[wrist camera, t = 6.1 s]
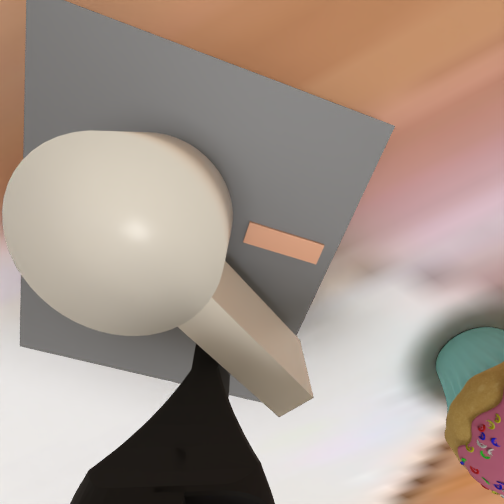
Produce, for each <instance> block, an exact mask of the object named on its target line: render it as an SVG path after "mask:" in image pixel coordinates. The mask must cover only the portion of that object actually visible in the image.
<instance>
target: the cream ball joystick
mask: <svg viewBox="0 0 504 504" xmlns="http://www.w3.org/2000/svg"><path fill="white" fill-rule="evenodd" d="M2 222H3V230H4V236H5V240H6V243H7V246H8V249H9V252H10V255H11V257H12V259H13V261H14V263H15V265H16V267H17V268H18V270H19V272H20V273H21V275H22V277H23V278H24V279H25V281H26V282H27V283H28V284H29V286H30V287H31V288H32V289H33V290H34V291H35V292H36V293H37V295H38V296H39V297H40V298H41V299H43V300H44V301H45V302H46V303H47V304H48V305H50V306H51V307H52V308H53V309H55V310H56V311H58V312H59V313H61V314H62V315H64V316H65V317H67V318H69V319H71V320H72V321H74V322H76V323H79V324H81V325H83V326H85V327H88V328H91V329H94V330H97V331H100V332H104V333H109V334H114V335H122V336H144V335H152V334H157V333H162V332H165V331H168V330H171V329H173V328H175V327H178V328H179V329H181V330H182V331H183V332H184V333H185V334H186V335H187V336H188V337H190V338H191V339H192V340H193V341H194V342H195V343H196V344H197V345H199V346H200V347H201V348H202V349H203V350H204V351H205V352H206V353H208V354H209V355H210V356H211V357H212V358H213V359H214V360H215V361H217V362H218V363H219V364H220V365H221V366H222V367H223V368H224V369H226V370H227V371H228V372H229V373H230V374H231V375H232V376H233V377H234V378H236V379H237V380H238V381H239V382H240V383H241V384H242V385H243V386H245V387H246V388H247V389H248V390H249V391H250V392H251V393H252V394H254V395H255V396H256V397H257V398H258V399H259V400H260V401H261V402H263V403H264V404H265V405H266V406H267V407H268V408H269V409H270V410H272V411H273V412H274V413H275V414H276V415H277V416H278V417H280V416H282V415H284V414H286V413H287V412H289V411H291V410H293V409H295V408H296V407H298V406H300V405H302V404H303V403H305V402H307V401H309V400H310V399H312V398H314V397H313V393H312V389H311V385H310V380H309V376H308V372H307V368H306V364H305V360H304V355H303V351H302V347H301V343H300V340H299V339H298V337H297V336H296V335H295V334H294V333H293V332H292V331H291V330H290V329H289V328H288V327H287V326H286V325H285V324H284V323H283V322H282V320H281V319H280V318H279V317H278V316H277V315H276V314H275V313H274V312H273V311H272V310H271V309H270V308H269V307H268V306H267V305H266V304H265V302H264V301H263V300H262V299H261V298H260V297H259V296H258V295H257V294H256V293H255V292H254V291H253V290H252V289H251V288H250V287H249V286H248V284H247V283H246V282H245V281H244V280H243V279H242V278H241V277H240V276H239V275H238V274H237V273H236V272H235V271H234V270H233V269H232V267H231V266H230V265H229V264H228V263H227V262H226V261H225V258H226V253H227V249H228V244H229V239H230V234H231V229H232V222H233V210H232V202H231V198H230V194H229V191H228V189H227V186H226V184H225V181H224V180H223V178H222V176H221V174H220V173H219V171H218V170H217V169H216V167H215V166H214V165H213V163H212V162H211V161H210V160H209V159H208V158H207V157H206V156H205V155H204V154H202V153H201V152H200V151H199V150H198V149H196V148H195V147H193V146H192V145H190V144H188V143H187V142H185V141H182V140H180V139H178V138H176V137H172V136H169V135H166V134H160V133H154V132H124V131H93V130H88V131H79V132H72V133H68V134H65V135H61V136H58V137H55V138H53V139H51V140H49V141H46V142H44V143H43V144H41V145H40V146H38V147H37V148H35V149H34V150H32V151H31V152H30V153H29V154H28V155H27V156H26V157H25V158H24V159H23V160H22V161H21V162H20V164H19V165H18V167H17V168H16V169H15V171H14V172H13V174H12V176H11V178H10V180H9V182H8V185H7V188H6V192H5V195H4V200H3V208H2Z"/></svg>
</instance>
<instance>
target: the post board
mask: <svg viewBox="0 0 504 504" xmlns="http://www.w3.org/2000/svg"><path fill="white" fill-rule="evenodd" d="M394 127H395V126H393V125H391V124H388V123H386V122H383V121H380V120H378V119H375V118H372V117H370V116H367V115H364V114H362V113H359V112H357V111H354V110H351V109H349V108H346V107H343V106H341V105H338V104H336V103H333V102H330V101H328V100H325V99H322V98H320V97H317V96H314V95H312V94H309V93H307V92H304V91H301V90H299V89H296V88H293V87H291V86H288V85H285V84H283V83H280V82H278V81H275V80H272V79H270V78H267V77H264V76H262V75H259V74H257V73H254V72H251V71H249V70H246V69H243V68H241V67H238V66H235V65H233V64H230V63H228V62H225V61H222V60H220V59H217V58H214V57H212V56H209V55H207V54H204V53H201V52H199V51H196V50H193V49H191V48H188V47H185V46H183V45H180V44H178V43H175V42H172V41H170V40H167V39H164V38H162V37H159V36H156V35H154V34H151V33H149V32H146V31H143V30H141V29H138V28H135V27H133V26H130V25H128V24H125V23H122V22H120V21H117V20H114V19H112V18H109V17H106V16H104V15H101V14H99V13H96V12H93V11H91V10H88V9H85V8H83V7H80V6H77V5H75V4H72V3H70V2H67V1H64V0H26V50H25V102H24V154H23V159H24V158H25V157H26V156H27V155H28V154H29V153H30V152H31V151H32V150H34V149H35V148H37V147H38V146H40V145H41V144H43V143H44V142H46V141H49V140H51V139H53V138H55V137H58V136H61V135H65V134H68V133H72V132H79V131H88V130H93V131H124V132H154V133H160V134H166V135H169V136H172V137H176V138H178V139H180V140H182V141H185V142H187V143H188V144H190V145H192V146H193V147H195V148H196V149H198V150H199V151H200V152H201V153H202V154H204V155H205V156H206V157H207V158H208V159H209V160H210V161H211V162H212V163H213V165H214V166H215V167H216V169H217V170H218V171H219V173H220V174H221V176H222V178H223V180H224V181H225V184H226V186H227V189H228V191H229V194H230V198H231V202H232V210H233V222H232V229H231V234H230V239H229V244H228V249H227V253H226V258H225V261H226V262H227V263H228V264H229V265H230V266H231V267H232V269H233V270H234V271H235V272H236V273H237V274H238V275H239V276H240V277H241V278H242V279H243V280H244V281H245V282H246V283H247V284H248V286H249V287H250V288H251V289H252V290H253V291H254V292H255V293H256V294H257V295H258V296H259V297H260V298H261V299H262V300H263V301H264V302H265V304H266V305H267V306H268V307H269V308H270V309H271V310H272V311H273V312H274V313H275V314H276V315H277V316H278V317H279V318H280V319H281V320H282V322H283V323H284V324H285V325H286V326H287V327H288V328H289V329H290V330H291V331H292V332H293V333H294V334H295V335H297V333H298V331H299V329H300V327H301V324H302V322H303V320H304V318H305V316H306V314H307V312H308V310H309V307H310V305H311V303H312V301H313V299H314V297H315V295H316V293H317V290H318V288H319V286H320V284H321V282H322V280H323V278H324V276H325V274H326V271H327V269H328V267H329V265H330V263H331V261H332V259H333V257H334V254H335V252H336V250H337V248H338V246H339V244H340V242H341V240H342V237H343V235H344V233H345V231H346V229H347V227H348V225H349V223H350V220H351V218H352V216H353V214H354V212H355V210H356V208H357V206H358V204H359V201H360V199H361V197H362V195H363V193H364V191H365V189H366V187H367V184H368V182H369V180H370V178H371V176H372V174H373V172H374V170H375V167H376V165H377V163H378V161H379V159H380V157H381V155H382V153H383V150H384V148H385V146H386V144H387V142H388V140H389V138H390V136H391V134H392V131H393V129H394ZM20 346H22V347H26V348H30V349H34V350H39V351H43V352H47V353H52V354H56V355H60V356H65V357H69V358H73V359H77V360H82V361H86V362H90V363H95V364H99V365H103V366H107V367H112V368H116V369H120V370H125V371H129V372H133V373H138V374H142V375H146V376H150V377H155V378H159V379H163V380H168V381H172V382H176V383H182V381H183V380H184V379H185V377H186V376H187V375H188V373H189V372H190V370H191V369H192V363H193V357H194V351H195V346H196V343H195V342H194V341H193V340H192V339H191V338H190V337H188V336H187V335H186V334H185V333H184V332H183V331H182V330H181V329H179V328H178V327H175V328H173V329H171V330H168V331H165V332H162V333H157V334H152V335H144V336H122V335H114V334H109V333H104V332H100V331H97V330H94V329H91V328H88V327H85V326H83V325H81V324H79V323H76V322H74V321H72V320H71V319H69V318H67V317H65V316H64V315H62V314H61V313H59V312H58V311H56V310H55V309H53V308H52V307H51V306H50V305H48V304H47V303H46V302H45V301H44V300H43V299H41V298H40V297H39V296H38V295H37V293H36V292H35V291H34V290H33V289H32V288H31V287H30V286H29V284H28V283H27V282H26V281H25V279H24V278H23V277H22V275H21V310H20ZM229 395H232V396H236V397H241V398H245V399H249V400H254V401H258V402H261V401H260V400H259V399H258V398H257V397H256V396H255V395H254V394H252V393H251V392H250V391H249V390H248V389H247V388H246V387H245V386H243V385H242V384H241V383H240V382H239V381H238V380H237V379H236V378H234V377H233V376H232V375H231V374H230V385H229ZM262 403H263V402H262Z"/></svg>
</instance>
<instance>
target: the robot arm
mask: <svg viewBox="0 0 504 504" xmlns="http://www.w3.org/2000/svg"><path fill="white" fill-rule="evenodd" d="M229 385H230V373H229V372H228V371H227V370H226V369H224V368H223V367H222V366H221V365H220V364H219V363H218V362H217V361H215V360H214V359H213V358H212V357H211V356H210V355H209V354H208V353H206V352H205V351H204V350H203V349H202V348H201V347H200V346H199V345H197V344H196V346H195V351H194V357H193V363H192V369H191V370H190V372H189V373H188V375H187V376H186V377H185V379H184V380H183V381H182V383H181V384H180V386H179V387H178V388H177V389H176V391H175V392H174V393H173V394H172V395H171V397H170V398H169V399H168V400H167V401H166V402H165V404H164V405H163V406H162V407H161V408H160V409H159V410H158V411H157V412H156V413H155V414H154V415H153V416H152V417H151V418H150V419H149V420H148V421H147V422H146V423H145V424H144V425H143V426H142V427H141V428H140V429H139V430H138V431H137V432H135V433H134V434H133V435H132V436H131V437H130V438H129V439H128V440H127V441H125V442H124V443H123V444H122V445H121V446H120V447H118V448H117V449H116V450H115V451H113V452H112V453H111V454H110V455H108V456H107V457H106V458H104V459H103V460H102V461H100V462H99V463H98V464H97V465H95V466H94V467H93V468H91V469H90V470H89V471H88V472H87V474H86V476H85V478H84V479H83V481H82V483H81V484H80V486H79V488H78V489H77V491H76V493H75V495H74V497H73V499H72V501H71V503H70V504H275V503H274V499H273V496H272V493H271V490H270V487H269V484H268V481H267V479H266V476H265V474H264V471H263V468H262V465H261V463H260V461H259V459H258V458H257V456H256V454H255V453H254V451H253V449H252V448H251V446H250V444H249V442H248V440H247V439H246V437H245V435H244V433H243V431H242V429H241V427H240V425H239V423H238V421H237V418H236V416H235V414H234V412H233V410H232V407H231V405H230V402H229V399H228V396H229Z"/></svg>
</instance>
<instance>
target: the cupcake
mask: <svg viewBox="0 0 504 504" xmlns="http://www.w3.org/2000/svg"><path fill="white" fill-rule="evenodd" d="M436 371H437V374H438V377H439V379H440V382H441V384H442V387H443V390H444V393H445V397H446V401H447V407H448V411H447V418H446V430H445V439H446V441H447V443H448V444H449V446H450V447H451V449H452V450H453V452H454V453H455V455H456V457H457V458H458V460H459V461H460V463H461V464H462V465H463V466H464V467H465V468H466V469H467V470H468V471H469V473H470V474H471V476H472V477H473V478H474V479H475V480H476V481H478V482H479V483H480V484H481V485H482V486H483V487H484V488H486V489H488V490H489V489H490V490H492V493H494V494H500V495H501V497H503V498H504V330H501V329H498V328H493V327H481V328H475V329H471V330H468V331H465V332H463V333H461V334H459V335H457V336H456V337H454V338H453V339H451V340H450V341H449V342H448V343H447V344H446V345H445V346H444V347H443V348H442V350H441V351H440V353H439V355H438V357H437V361H436Z"/></svg>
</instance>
